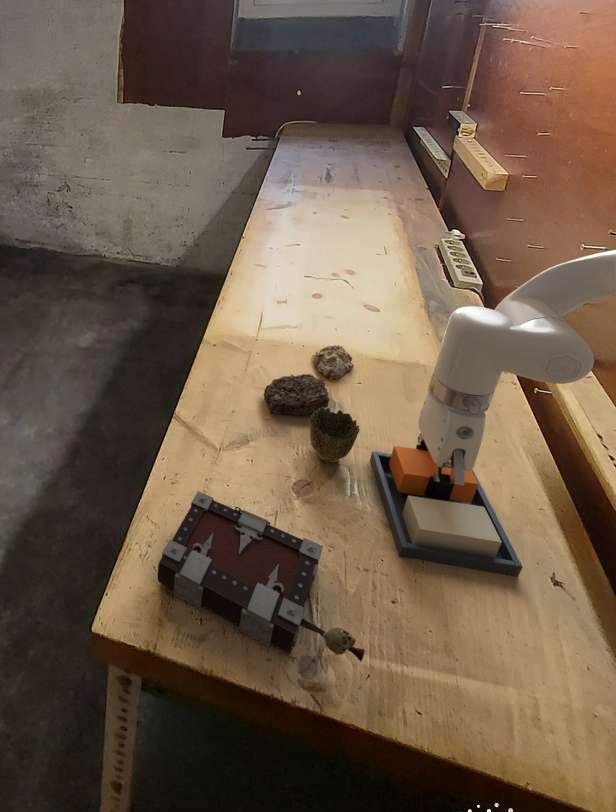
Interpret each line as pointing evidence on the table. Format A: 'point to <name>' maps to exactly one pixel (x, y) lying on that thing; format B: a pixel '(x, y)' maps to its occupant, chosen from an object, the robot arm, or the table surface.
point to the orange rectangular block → (425, 474)
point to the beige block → (450, 526)
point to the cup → (332, 434)
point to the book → (246, 574)
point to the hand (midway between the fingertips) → (429, 480)
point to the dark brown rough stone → (296, 394)
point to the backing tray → (394, 507)
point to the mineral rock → (333, 361)
